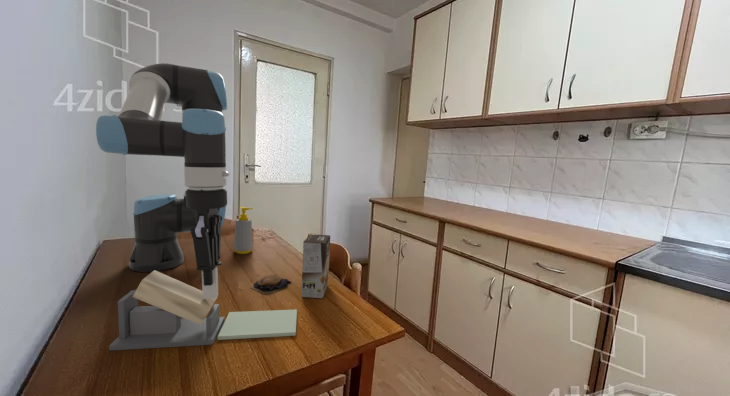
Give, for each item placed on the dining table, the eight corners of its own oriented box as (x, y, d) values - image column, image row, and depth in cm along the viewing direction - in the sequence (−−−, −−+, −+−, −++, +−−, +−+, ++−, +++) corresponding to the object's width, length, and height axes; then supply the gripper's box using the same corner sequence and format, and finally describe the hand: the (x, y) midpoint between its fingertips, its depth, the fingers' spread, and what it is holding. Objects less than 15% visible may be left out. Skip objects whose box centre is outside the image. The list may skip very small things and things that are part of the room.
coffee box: (323, 299, 84) (325, 243, 82) (300, 297, 84) (302, 241, 82) (328, 285, 93) (330, 235, 91) (307, 283, 93) (309, 233, 91)
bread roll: (266, 297, 84) (266, 285, 83) (247, 289, 89) (247, 277, 88) (294, 285, 93) (295, 274, 92) (276, 278, 97) (276, 267, 97)
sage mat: (229, 315, 73) (229, 312, 73) (296, 312, 76) (296, 309, 76) (217, 339, 63) (217, 336, 63) (295, 335, 66) (295, 332, 66)
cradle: (135, 324, 67) (133, 286, 65) (224, 320, 70) (224, 284, 69) (109, 350, 58) (106, 306, 57) (213, 344, 61) (212, 303, 60)
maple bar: (145, 286, 64) (154, 270, 64) (208, 312, 67) (217, 297, 67) (132, 296, 59) (142, 279, 59) (200, 324, 62) (210, 308, 62)
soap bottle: (248, 255, 116) (249, 209, 113) (230, 253, 116) (230, 208, 113) (255, 249, 123) (256, 206, 120) (238, 248, 123) (238, 205, 120)
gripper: (217, 191, 56) (221, 311, 59) (233, 185, 68) (235, 283, 71) (172, 191, 54) (179, 313, 57) (197, 184, 67) (201, 285, 70)
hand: (210, 297), depth 64 cm, fingers closed
